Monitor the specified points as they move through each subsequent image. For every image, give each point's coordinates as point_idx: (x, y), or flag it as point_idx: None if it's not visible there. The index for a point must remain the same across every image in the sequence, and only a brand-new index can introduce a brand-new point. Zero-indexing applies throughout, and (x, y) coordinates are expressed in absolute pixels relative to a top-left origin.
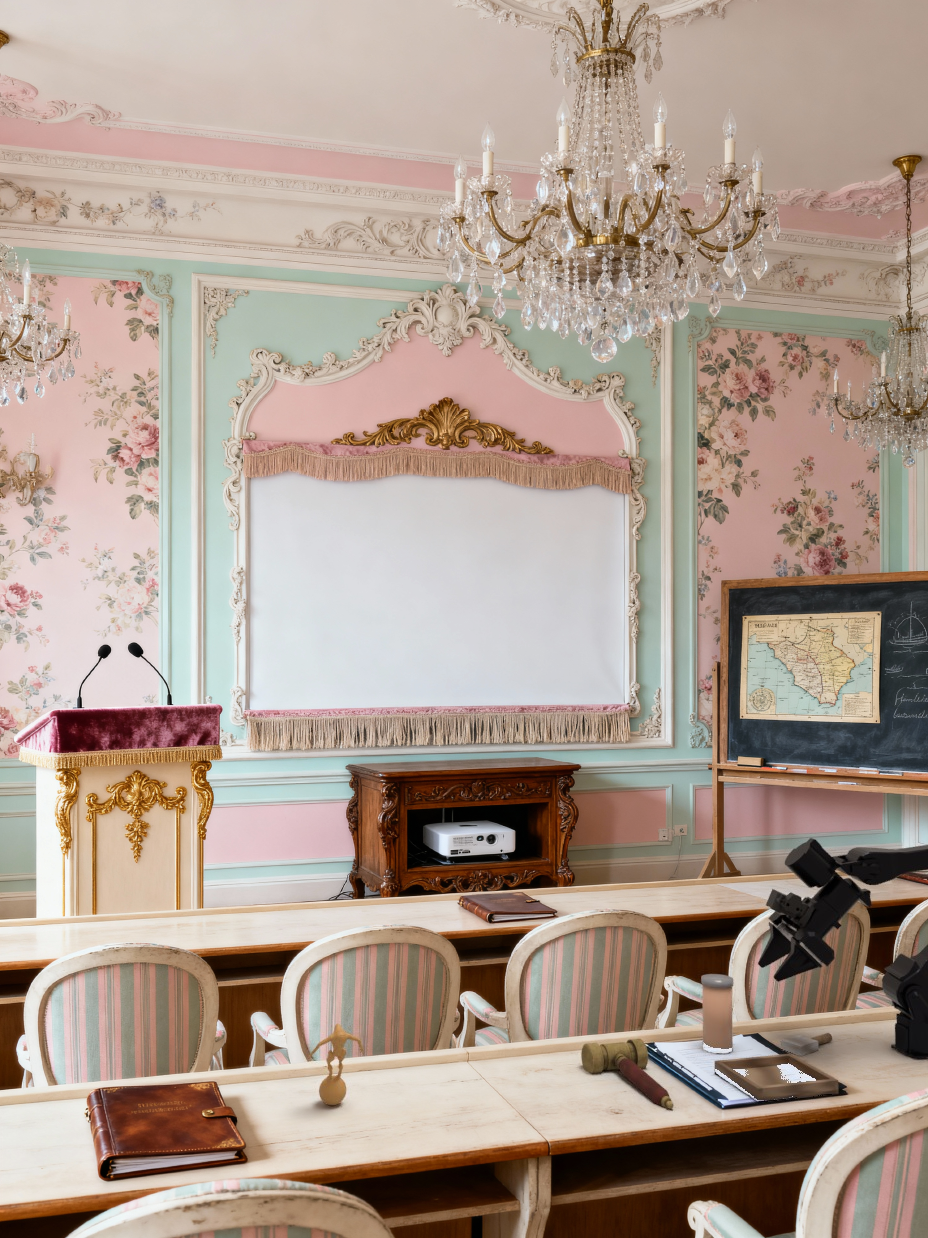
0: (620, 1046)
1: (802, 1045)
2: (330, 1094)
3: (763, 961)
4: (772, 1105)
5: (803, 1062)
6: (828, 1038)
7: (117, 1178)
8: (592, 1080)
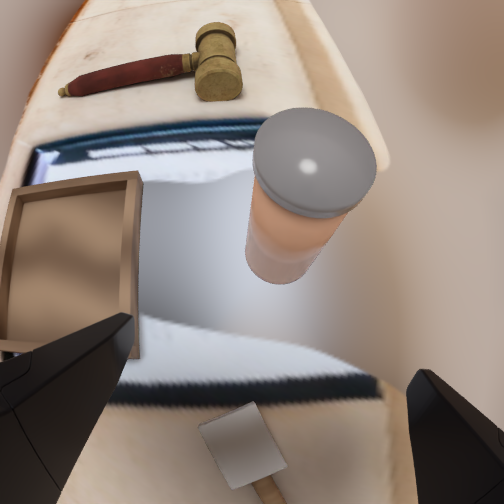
0: (207, 49)
1: (203, 436)
2: None
3: (423, 397)
4: None
5: None
6: None
7: None
8: (181, 48)
